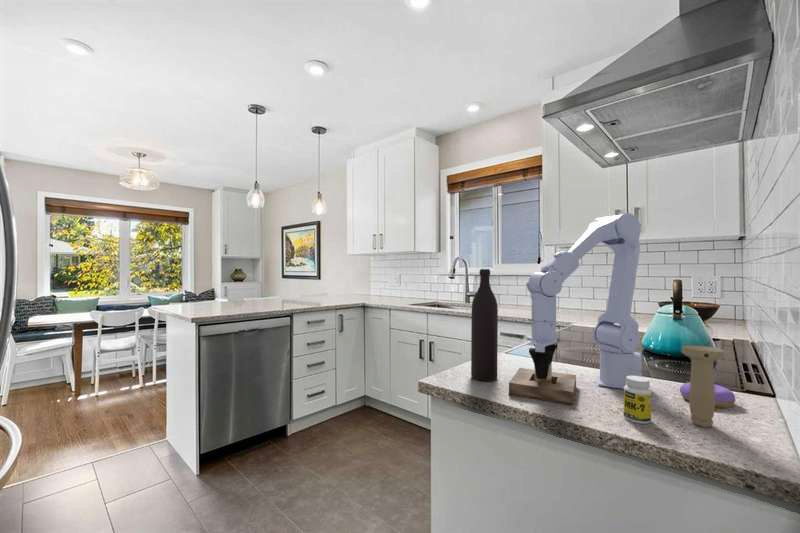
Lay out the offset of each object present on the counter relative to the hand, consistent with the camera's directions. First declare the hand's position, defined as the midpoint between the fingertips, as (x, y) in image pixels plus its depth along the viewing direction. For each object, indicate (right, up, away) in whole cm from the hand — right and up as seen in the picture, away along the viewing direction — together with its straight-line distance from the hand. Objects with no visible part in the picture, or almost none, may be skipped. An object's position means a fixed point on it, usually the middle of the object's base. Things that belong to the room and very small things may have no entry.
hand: (543, 375), depth 93 cm
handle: (+24, -4, -19) cm, 31 cm away
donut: (+35, -4, -7) cm, 36 cm away
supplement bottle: (+13, -4, -17) cm, 21 cm away
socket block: (0, -4, 0) cm, 4 cm away
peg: (0, -3, 0) cm, 3 cm away
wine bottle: (-12, -4, +10) cm, 17 cm away
